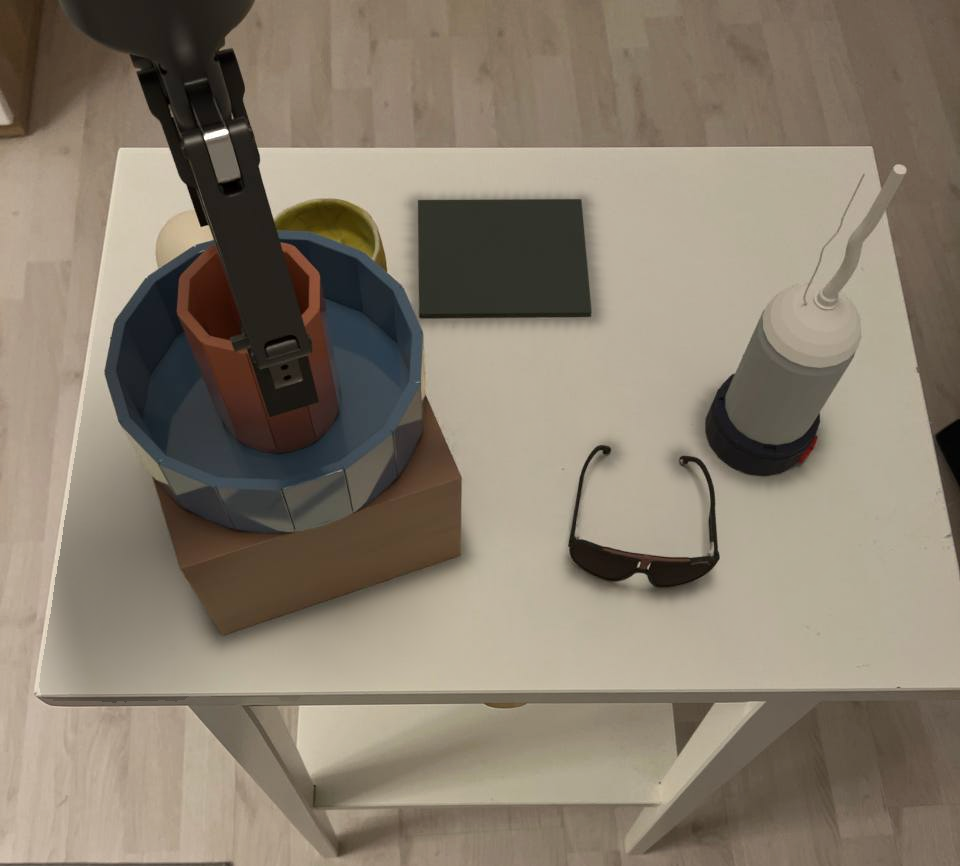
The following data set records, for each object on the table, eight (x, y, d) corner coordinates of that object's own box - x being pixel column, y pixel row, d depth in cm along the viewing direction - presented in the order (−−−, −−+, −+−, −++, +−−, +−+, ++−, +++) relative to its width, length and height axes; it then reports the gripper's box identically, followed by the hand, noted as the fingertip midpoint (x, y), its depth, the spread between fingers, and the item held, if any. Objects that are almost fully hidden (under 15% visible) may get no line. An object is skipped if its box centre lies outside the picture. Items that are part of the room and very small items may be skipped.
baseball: (250, 246, 79) (232, 182, 73) (255, 317, 77) (238, 256, 71) (167, 255, 79) (143, 190, 73) (171, 326, 76) (145, 266, 70)
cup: (203, 372, 61) (159, 259, 52) (321, 338, 63) (298, 222, 53) (236, 469, 59) (195, 368, 50) (358, 431, 60) (341, 326, 51)
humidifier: (818, 474, 73) (989, 225, 50) (712, 477, 73) (834, 229, 49) (800, 385, 76) (953, 110, 53) (698, 388, 76) (807, 113, 52)
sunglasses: (561, 586, 69) (569, 548, 64) (573, 458, 75) (582, 414, 70) (706, 605, 69) (724, 568, 64) (707, 475, 74) (725, 432, 70)
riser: (158, 430, 73) (109, 336, 63) (380, 363, 76) (369, 263, 65) (222, 635, 67) (180, 569, 57) (460, 555, 70) (462, 478, 60)
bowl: (105, 335, 63) (75, 276, 58) (371, 260, 65) (364, 198, 60) (177, 573, 57) (150, 531, 52) (466, 479, 59) (467, 431, 54)
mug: (408, 238, 78) (373, 174, 68) (407, 362, 77) (372, 315, 67) (266, 250, 80) (212, 189, 70) (265, 371, 79) (210, 326, 70)
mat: (419, 317, 77) (419, 313, 77) (418, 204, 82) (417, 199, 81) (590, 316, 78) (591, 312, 77) (580, 203, 82) (581, 198, 82)
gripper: (350, 104, 29) (395, 470, 49) (147, -337, 37) (257, 130, 57) (106, 168, 28) (253, 515, 48) (-47, -300, 36) (133, 162, 56)
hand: (255, 306), depth 52 cm, fingers open, 13 cm apart
